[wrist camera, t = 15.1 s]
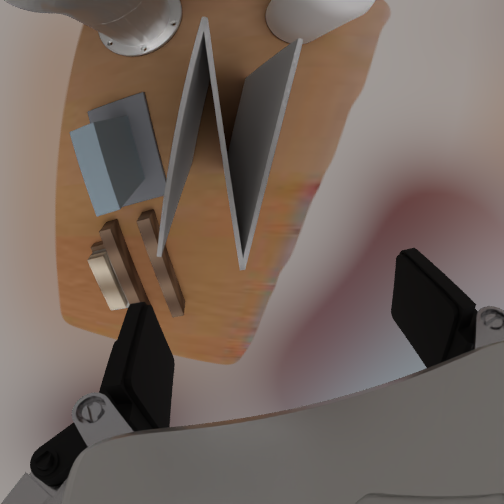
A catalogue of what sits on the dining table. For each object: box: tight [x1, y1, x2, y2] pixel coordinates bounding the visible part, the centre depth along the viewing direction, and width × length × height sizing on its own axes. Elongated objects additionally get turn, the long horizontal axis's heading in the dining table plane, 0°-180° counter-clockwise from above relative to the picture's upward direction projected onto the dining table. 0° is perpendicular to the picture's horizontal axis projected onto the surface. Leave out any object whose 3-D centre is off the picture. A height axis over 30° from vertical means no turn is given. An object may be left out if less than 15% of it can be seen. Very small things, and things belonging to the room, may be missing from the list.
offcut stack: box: [88, 241, 130, 310], centre depth 50 cm, size 12×4×5 cm, turn 11°
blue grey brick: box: [70, 116, 145, 216], centre depth 36 cm, size 10×3×14 cm, turn 11°
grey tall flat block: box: [157, 17, 303, 270], centre depth 30 cm, size 14×6×30 cm, turn 167°
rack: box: [99, 209, 185, 317], centre depth 50 cm, size 18×8×4 cm, turn 11°
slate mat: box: [88, 92, 166, 207], centre depth 43 cm, size 16×9×1 cm, turn 11°
